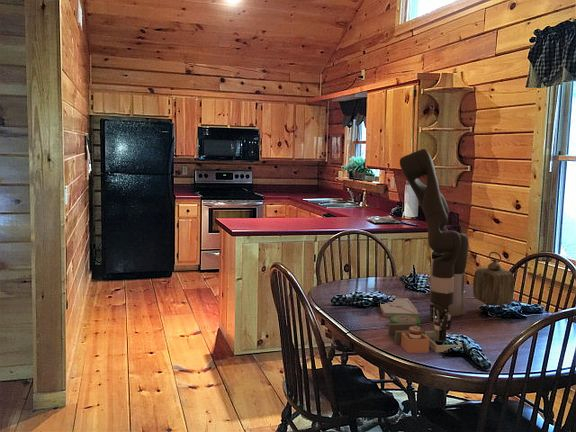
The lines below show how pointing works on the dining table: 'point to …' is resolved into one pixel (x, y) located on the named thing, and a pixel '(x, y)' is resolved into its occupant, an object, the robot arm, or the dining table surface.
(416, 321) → the tape roll
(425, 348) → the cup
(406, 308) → the envelope
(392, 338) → the cradle
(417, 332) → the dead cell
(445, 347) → the trough
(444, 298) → the robot arm
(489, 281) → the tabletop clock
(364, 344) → the dining table surface
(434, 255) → the travel mug
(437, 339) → the cell
